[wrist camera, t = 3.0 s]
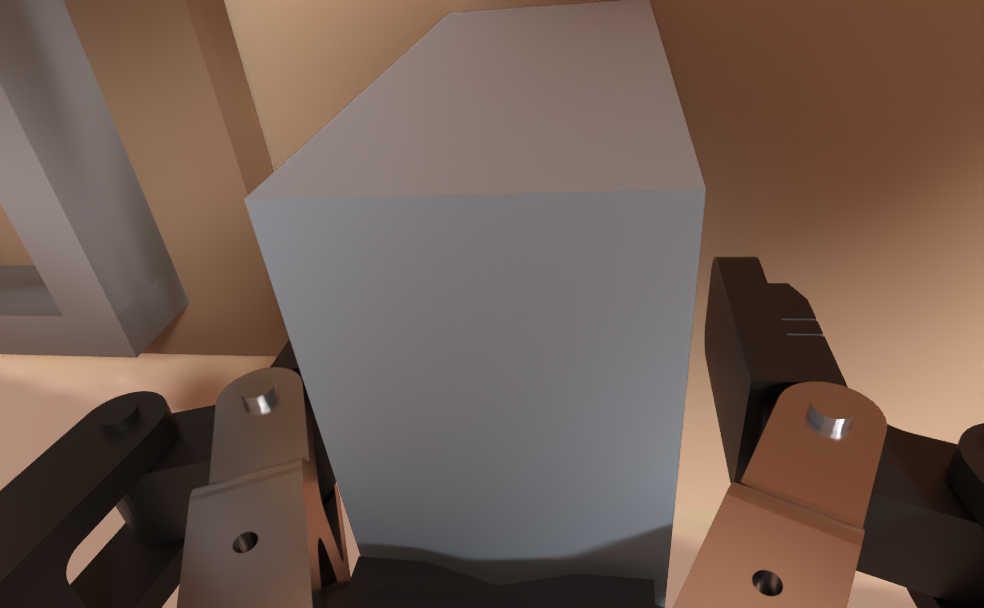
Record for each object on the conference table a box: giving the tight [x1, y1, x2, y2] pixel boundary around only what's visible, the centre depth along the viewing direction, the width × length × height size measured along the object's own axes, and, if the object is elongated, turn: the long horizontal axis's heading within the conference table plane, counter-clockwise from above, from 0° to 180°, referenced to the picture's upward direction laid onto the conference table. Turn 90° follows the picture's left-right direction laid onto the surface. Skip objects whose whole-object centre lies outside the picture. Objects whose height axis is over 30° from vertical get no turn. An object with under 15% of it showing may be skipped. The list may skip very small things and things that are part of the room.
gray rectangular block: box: [244, 0, 706, 607], centre depth 11 cm, size 10×4×8 cm, turn 5°
